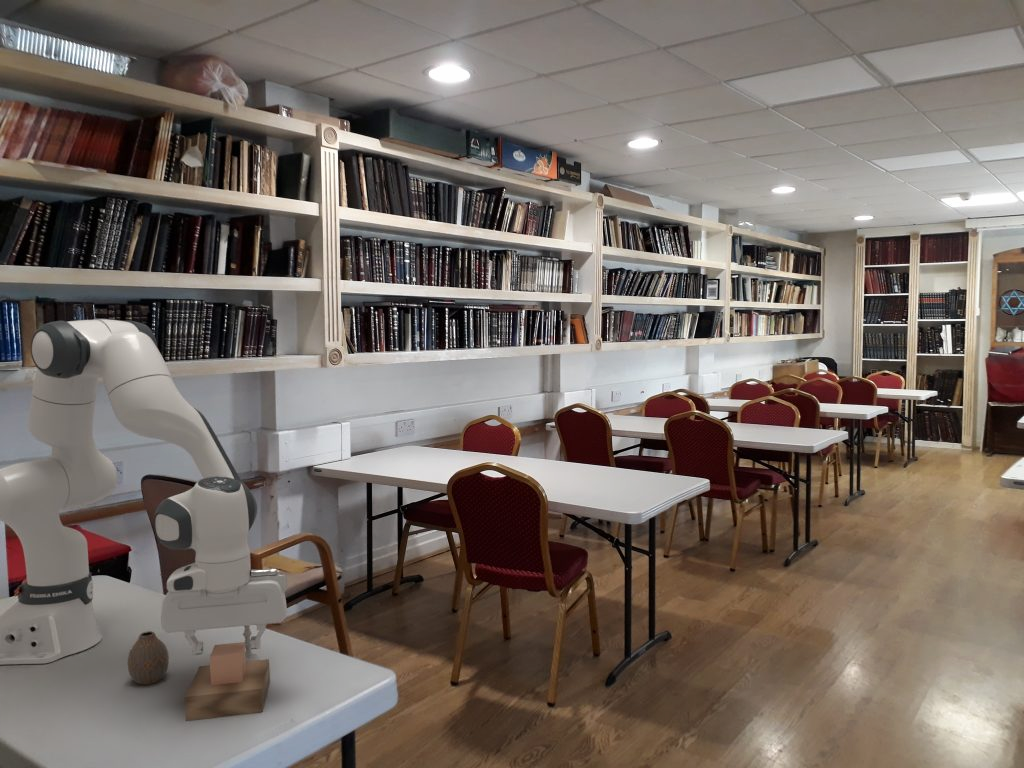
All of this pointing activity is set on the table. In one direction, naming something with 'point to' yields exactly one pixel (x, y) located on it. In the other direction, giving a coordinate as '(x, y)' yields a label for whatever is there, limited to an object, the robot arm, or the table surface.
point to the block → (227, 663)
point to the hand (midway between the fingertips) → (227, 650)
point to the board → (228, 693)
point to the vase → (148, 659)
